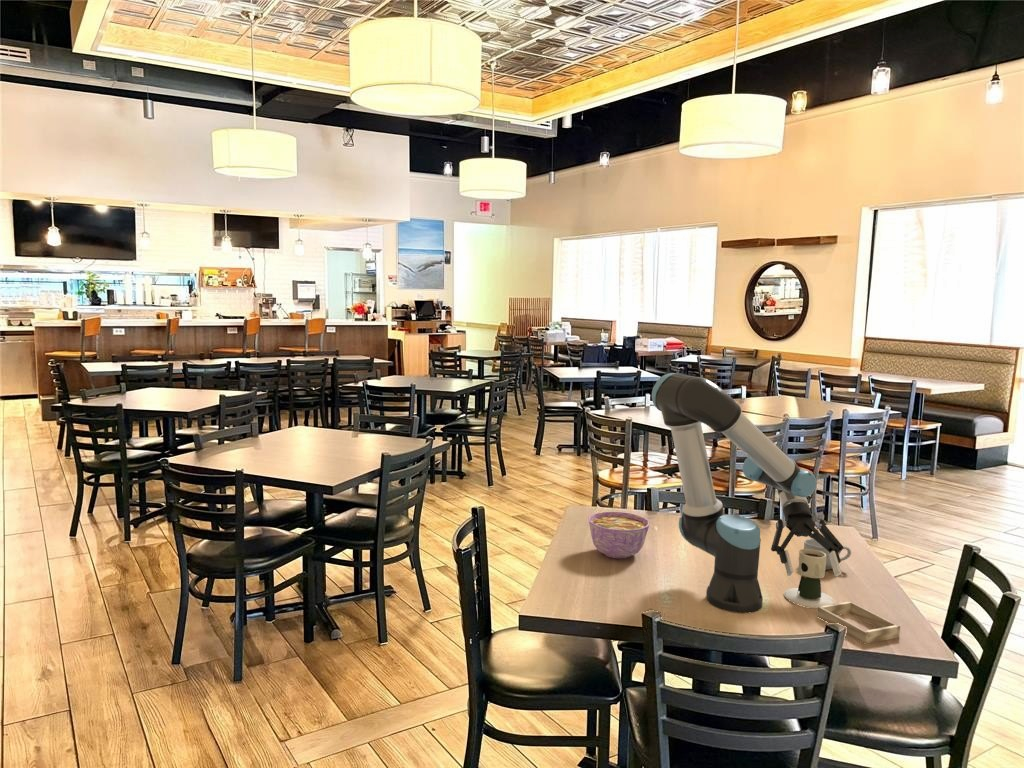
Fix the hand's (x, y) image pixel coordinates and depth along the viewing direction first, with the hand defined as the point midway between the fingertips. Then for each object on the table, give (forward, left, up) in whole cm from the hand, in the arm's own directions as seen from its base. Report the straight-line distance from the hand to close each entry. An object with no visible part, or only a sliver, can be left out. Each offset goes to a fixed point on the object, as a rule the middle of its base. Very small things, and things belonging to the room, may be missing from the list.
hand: (814, 574), depth 198 cm
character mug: (+1, +2, -8) cm, 8 cm away
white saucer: (+1, +2, -8) cm, 9 cm away
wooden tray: (0, -16, -8) cm, 18 cm away
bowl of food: (-34, +50, -8) cm, 61 cm away
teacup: (+25, +20, -9) cm, 33 cm away
